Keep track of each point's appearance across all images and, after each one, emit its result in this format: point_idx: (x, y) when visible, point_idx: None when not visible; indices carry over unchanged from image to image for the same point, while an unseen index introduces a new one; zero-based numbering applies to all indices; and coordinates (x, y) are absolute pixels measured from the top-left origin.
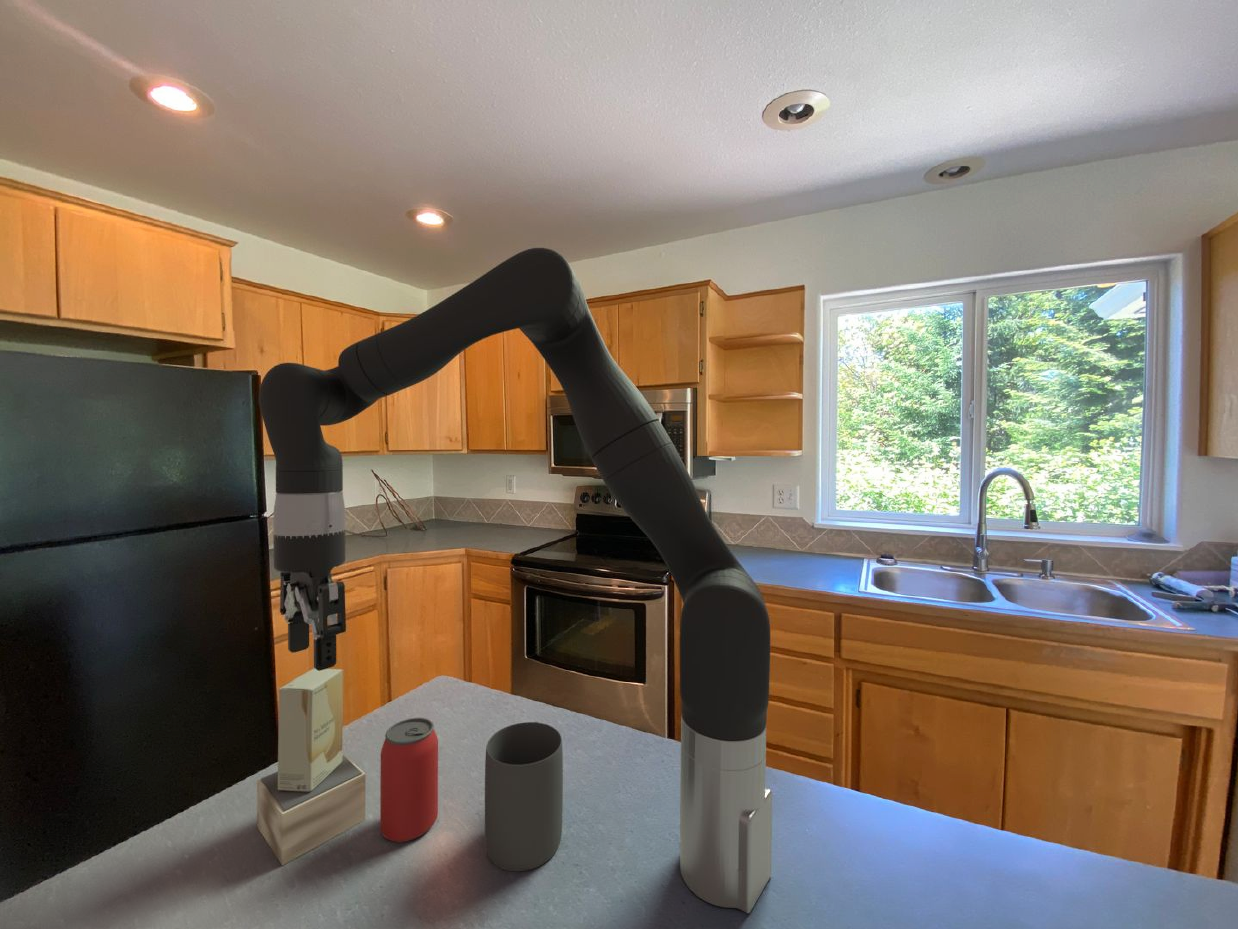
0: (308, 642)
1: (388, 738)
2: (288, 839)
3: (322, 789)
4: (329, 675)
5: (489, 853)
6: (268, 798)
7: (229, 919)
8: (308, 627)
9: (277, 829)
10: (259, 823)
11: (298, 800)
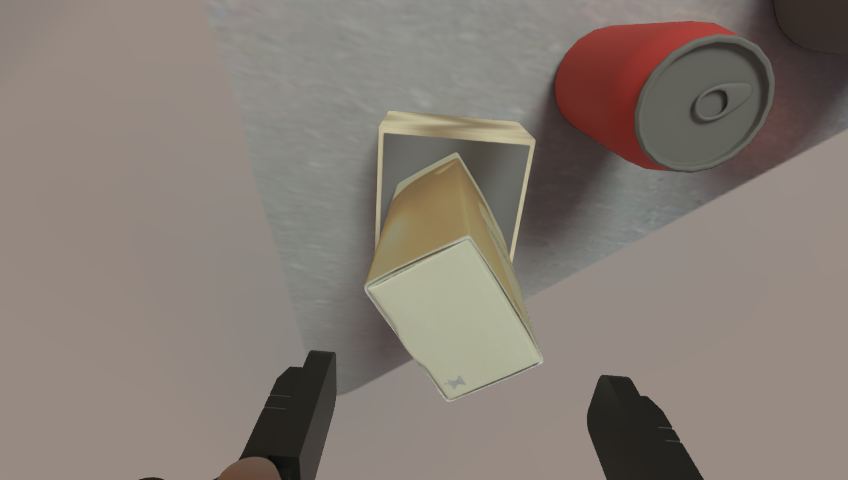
0: (328, 366)
1: (681, 170)
2: None
3: (510, 215)
4: (482, 289)
5: (814, 50)
6: None
7: (525, 299)
8: (308, 424)
9: None
10: None
11: None
